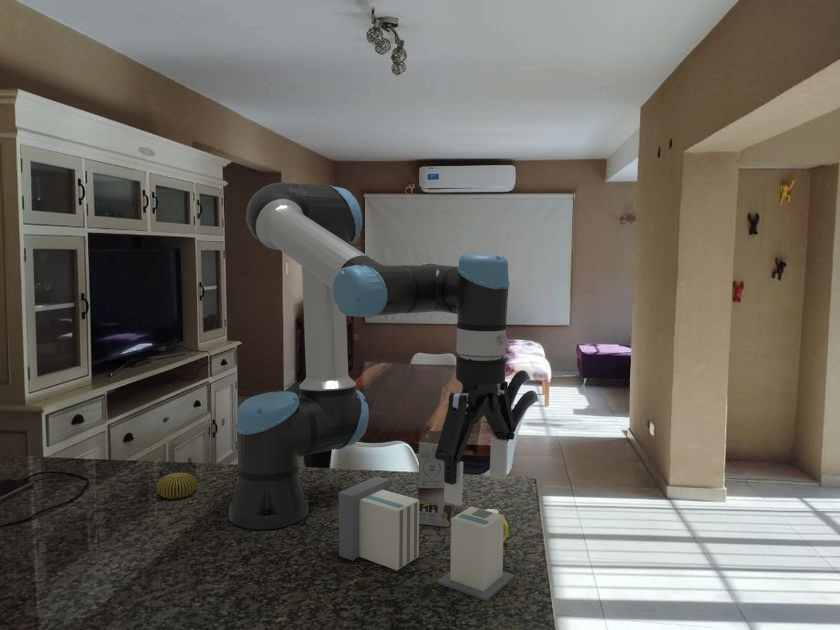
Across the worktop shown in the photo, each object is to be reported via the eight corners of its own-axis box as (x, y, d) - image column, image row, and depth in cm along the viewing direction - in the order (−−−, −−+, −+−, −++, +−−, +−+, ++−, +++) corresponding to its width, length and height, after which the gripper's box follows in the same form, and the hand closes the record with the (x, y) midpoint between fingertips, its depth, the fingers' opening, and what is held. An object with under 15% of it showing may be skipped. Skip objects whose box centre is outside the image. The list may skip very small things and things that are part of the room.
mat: (436, 583, 104) (436, 580, 104) (467, 561, 111) (467, 559, 111) (486, 601, 99) (486, 598, 99) (515, 577, 106) (515, 575, 106)
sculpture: (192, 467, 145) (200, 478, 138) (193, 485, 146) (200, 497, 139) (153, 473, 141) (159, 485, 134) (154, 491, 142) (160, 504, 135)
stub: (450, 579, 104) (451, 517, 103) (470, 565, 109) (471, 505, 108) (483, 591, 101) (484, 527, 100) (502, 575, 106) (503, 514, 105)
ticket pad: (334, 554, 113) (334, 491, 112) (371, 534, 121) (372, 475, 120) (389, 575, 106) (390, 507, 105) (425, 552, 114) (426, 489, 113)
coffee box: (450, 527, 125) (451, 444, 123) (416, 524, 126) (417, 441, 124) (457, 509, 134) (458, 431, 132) (425, 506, 135) (426, 428, 133)
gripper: (457, 371, 89) (453, 522, 91) (539, 348, 109) (534, 473, 112) (412, 364, 93) (409, 508, 96) (499, 343, 114) (495, 463, 116)
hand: (476, 490), depth 104 cm, fingers open, 13 cm apart
